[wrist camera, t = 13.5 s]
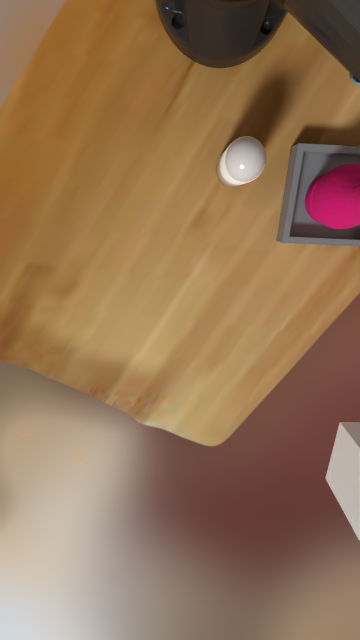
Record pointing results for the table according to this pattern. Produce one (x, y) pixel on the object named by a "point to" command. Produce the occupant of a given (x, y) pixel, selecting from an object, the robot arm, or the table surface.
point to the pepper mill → (336, 197)
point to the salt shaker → (241, 162)
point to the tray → (301, 173)
